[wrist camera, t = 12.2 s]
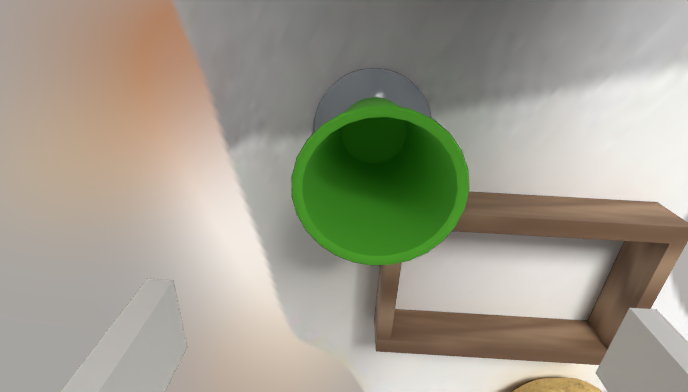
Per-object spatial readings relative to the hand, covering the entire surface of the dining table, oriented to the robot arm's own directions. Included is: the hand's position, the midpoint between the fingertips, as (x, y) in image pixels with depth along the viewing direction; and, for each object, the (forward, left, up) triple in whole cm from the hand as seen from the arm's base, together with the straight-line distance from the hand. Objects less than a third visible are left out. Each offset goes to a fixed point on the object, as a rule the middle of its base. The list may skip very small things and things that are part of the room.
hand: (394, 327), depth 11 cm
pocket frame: (+13, +13, -20) cm, 27 cm away
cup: (0, 0, -20) cm, 20 cm away
